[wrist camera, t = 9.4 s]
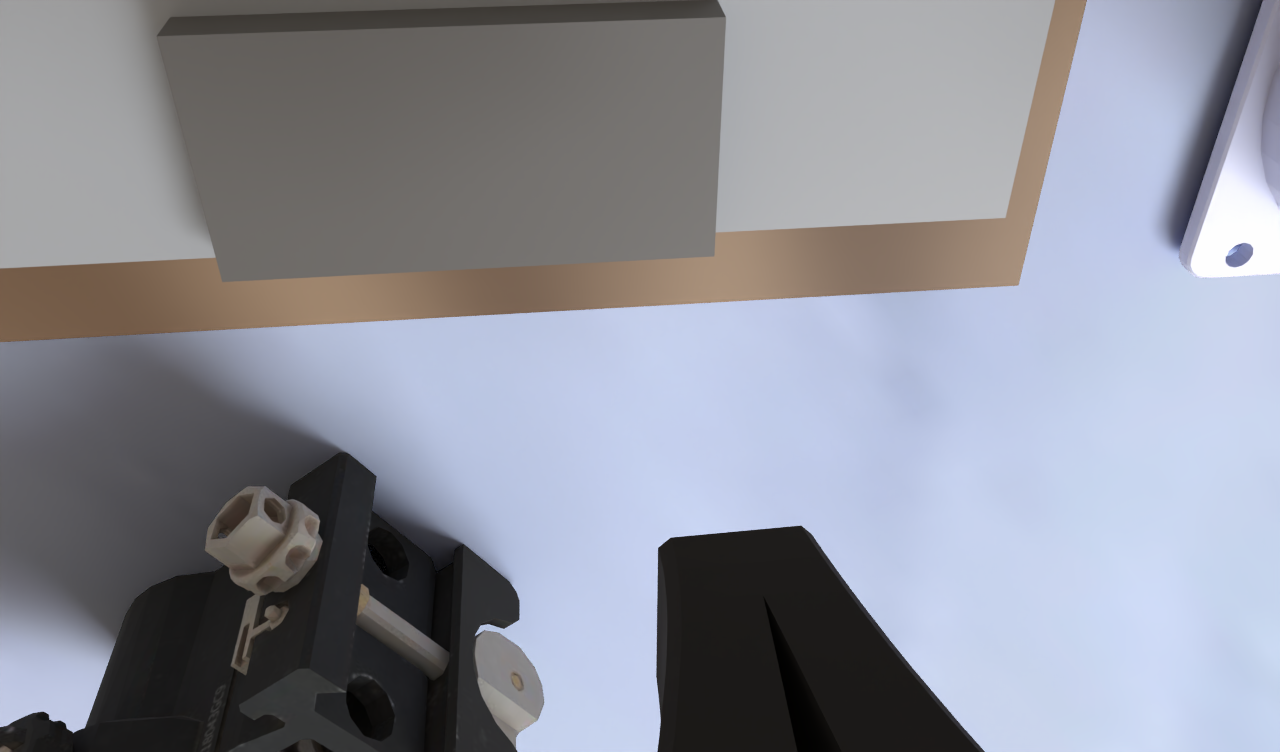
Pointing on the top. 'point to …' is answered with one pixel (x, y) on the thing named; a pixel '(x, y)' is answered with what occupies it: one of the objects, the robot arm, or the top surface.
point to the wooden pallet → (566, 265)
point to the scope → (310, 642)
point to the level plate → (495, 127)
